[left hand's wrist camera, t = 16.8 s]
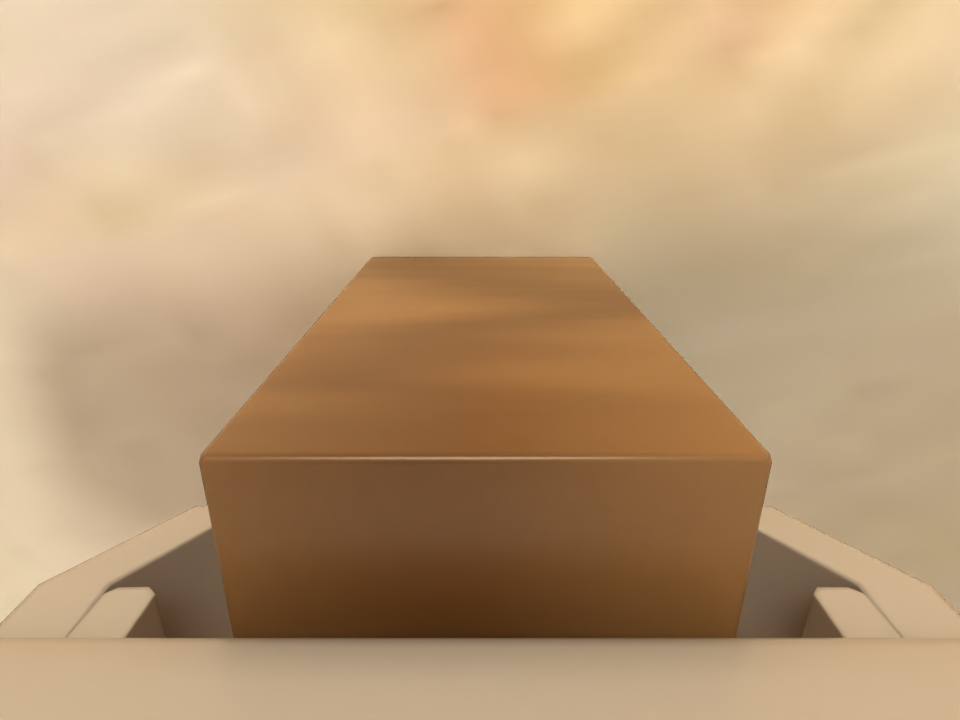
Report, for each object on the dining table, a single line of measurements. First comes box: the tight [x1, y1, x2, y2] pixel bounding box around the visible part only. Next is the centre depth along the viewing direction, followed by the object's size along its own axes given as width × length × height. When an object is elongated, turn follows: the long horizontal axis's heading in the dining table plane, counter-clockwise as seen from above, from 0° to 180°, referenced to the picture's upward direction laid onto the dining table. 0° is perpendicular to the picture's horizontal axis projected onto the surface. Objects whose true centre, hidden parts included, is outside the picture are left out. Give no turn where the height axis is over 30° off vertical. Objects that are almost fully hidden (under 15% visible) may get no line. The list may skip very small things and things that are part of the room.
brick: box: [199, 257, 772, 638], centre depth 10 cm, size 5×6×9 cm
